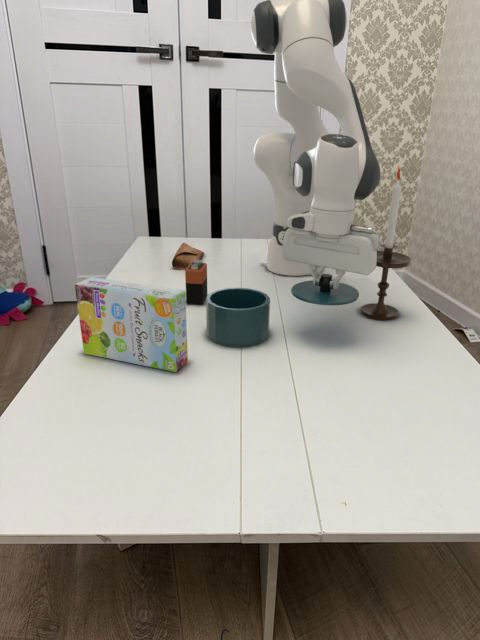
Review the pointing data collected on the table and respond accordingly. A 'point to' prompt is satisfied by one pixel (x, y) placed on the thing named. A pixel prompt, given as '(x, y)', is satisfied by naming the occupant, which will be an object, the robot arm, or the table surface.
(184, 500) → the table surface
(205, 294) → the battery
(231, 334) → the pot
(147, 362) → the snack box
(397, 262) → the candlestick
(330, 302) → the lid
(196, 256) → the sunglasses case
